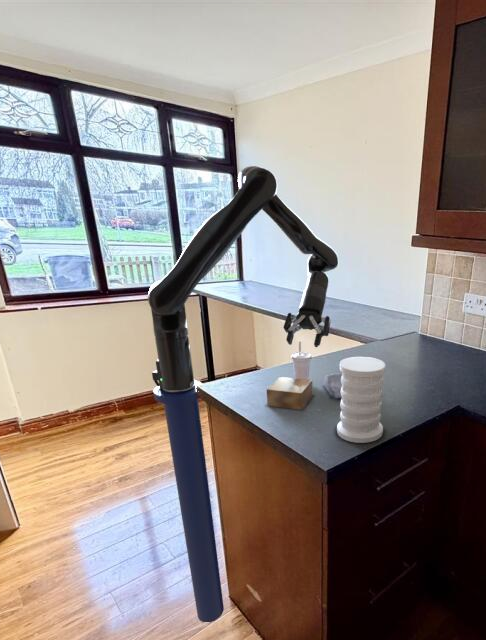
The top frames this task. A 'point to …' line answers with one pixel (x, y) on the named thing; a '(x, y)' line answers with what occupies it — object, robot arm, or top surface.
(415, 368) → the top surface
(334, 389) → the stone block
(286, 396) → the oak block
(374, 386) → the decorative container
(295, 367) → the smoothie
